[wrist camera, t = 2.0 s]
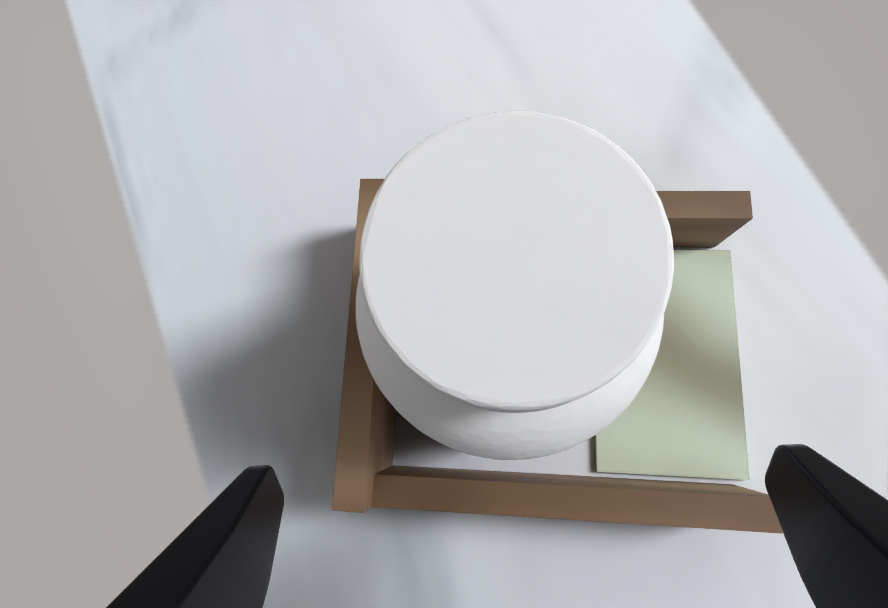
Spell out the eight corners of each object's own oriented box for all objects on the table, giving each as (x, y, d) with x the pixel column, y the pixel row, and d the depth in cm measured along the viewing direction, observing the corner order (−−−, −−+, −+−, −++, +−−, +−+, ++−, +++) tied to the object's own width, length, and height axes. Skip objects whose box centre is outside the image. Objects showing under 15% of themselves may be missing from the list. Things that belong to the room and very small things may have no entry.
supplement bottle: (383, 374, 20) (202, 308, 8) (474, 243, 21) (447, -13, 8) (525, 474, 19) (591, 595, 6) (616, 329, 20) (836, 178, 7)
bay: (749, 514, 18) (822, 542, 14) (364, 491, 19) (331, 510, 15) (725, 223, 20) (781, 177, 16) (384, 221, 21) (360, 178, 18)
